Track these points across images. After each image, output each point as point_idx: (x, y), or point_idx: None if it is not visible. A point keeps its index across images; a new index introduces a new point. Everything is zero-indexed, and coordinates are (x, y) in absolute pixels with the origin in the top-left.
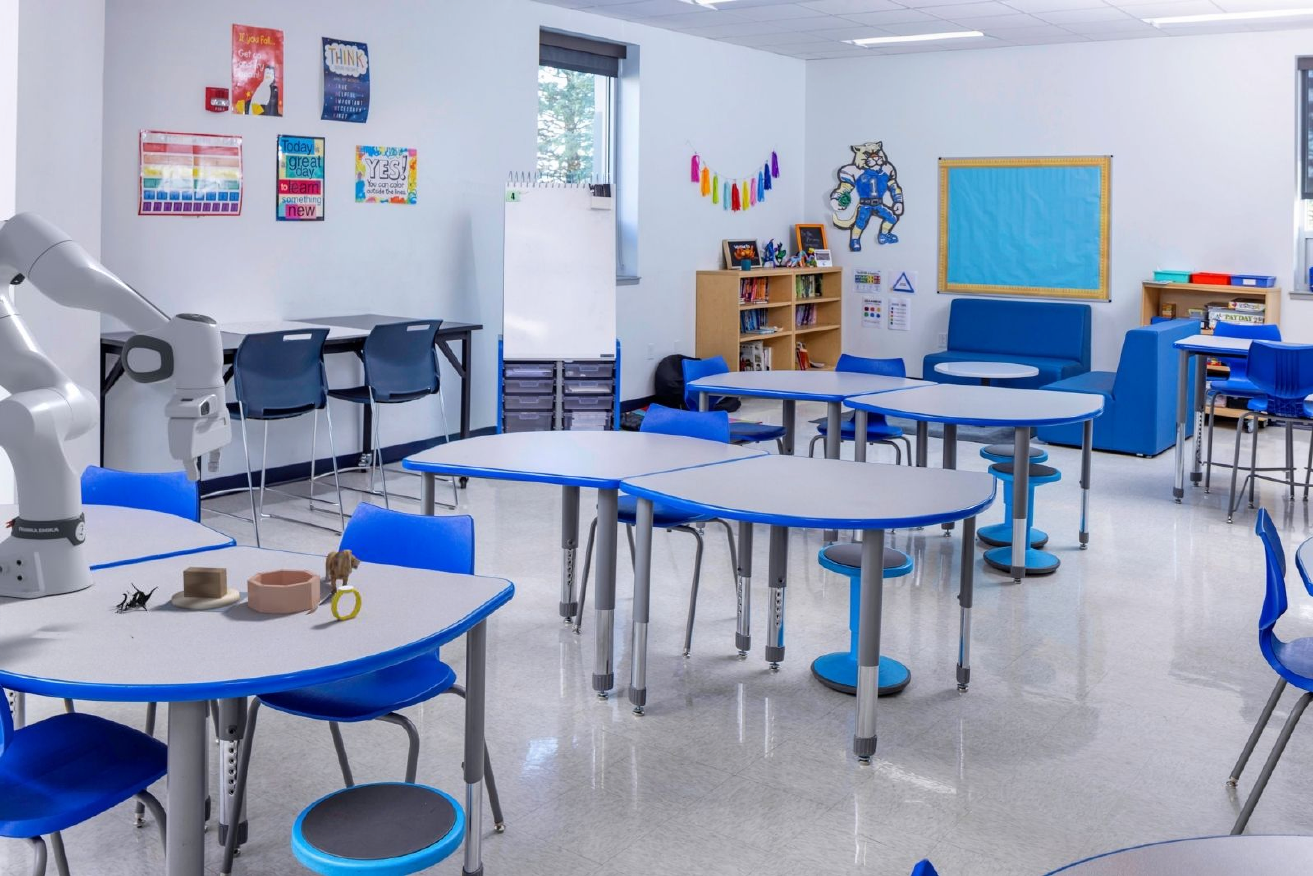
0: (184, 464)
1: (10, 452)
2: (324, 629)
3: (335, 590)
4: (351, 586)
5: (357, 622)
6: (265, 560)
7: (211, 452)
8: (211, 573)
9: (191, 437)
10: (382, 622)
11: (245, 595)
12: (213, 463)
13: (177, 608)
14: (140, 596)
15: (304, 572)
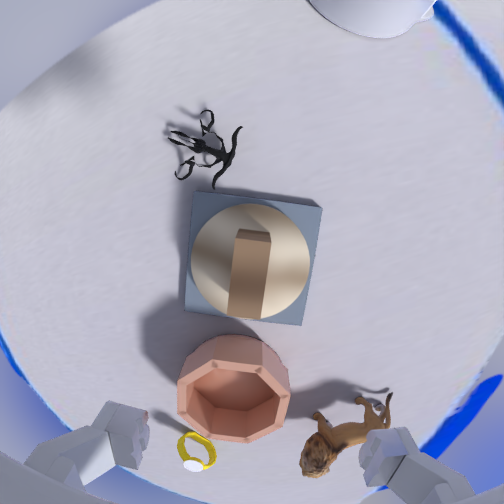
0: (44, 446)
1: None
2: (153, 420)
3: (317, 419)
4: (198, 470)
5: (185, 446)
6: (497, 282)
7: (429, 495)
8: (228, 297)
9: None
10: None
11: (282, 319)
12: (371, 475)
13: (199, 226)
14: (187, 163)
15: (271, 424)
